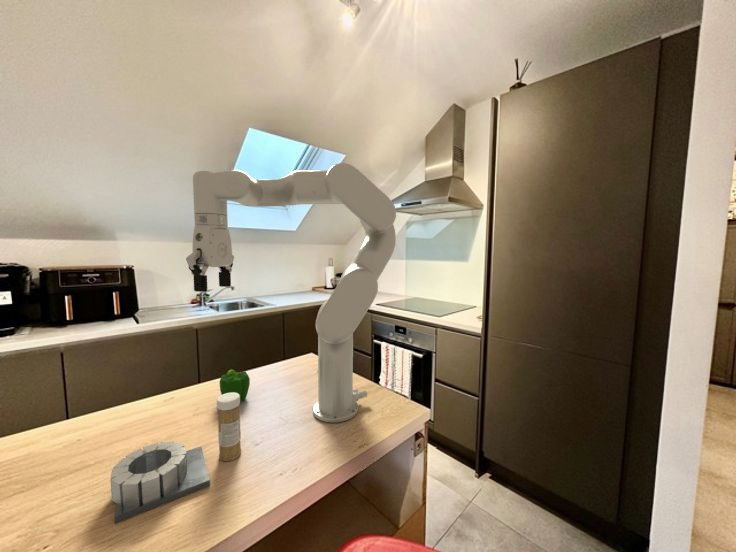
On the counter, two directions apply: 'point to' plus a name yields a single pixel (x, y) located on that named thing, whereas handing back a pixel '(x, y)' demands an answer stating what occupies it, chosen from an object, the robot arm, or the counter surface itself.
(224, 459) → the sprinkles bottle
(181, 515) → the counter surface
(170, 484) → the collar block
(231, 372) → the bell pepper
